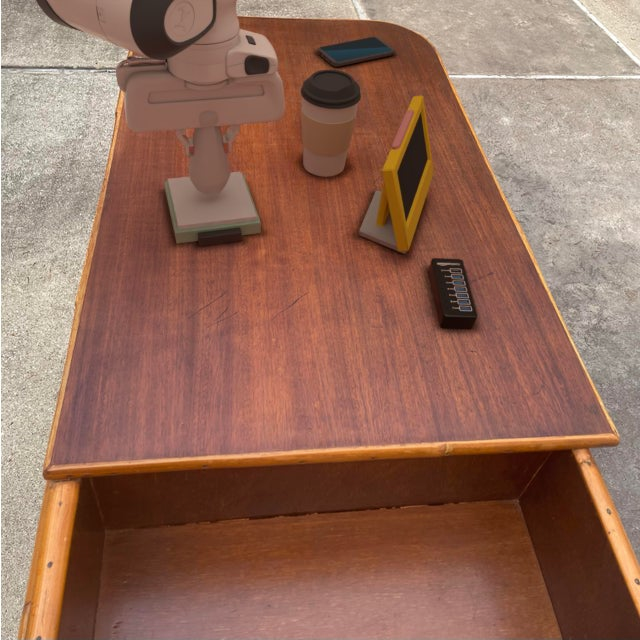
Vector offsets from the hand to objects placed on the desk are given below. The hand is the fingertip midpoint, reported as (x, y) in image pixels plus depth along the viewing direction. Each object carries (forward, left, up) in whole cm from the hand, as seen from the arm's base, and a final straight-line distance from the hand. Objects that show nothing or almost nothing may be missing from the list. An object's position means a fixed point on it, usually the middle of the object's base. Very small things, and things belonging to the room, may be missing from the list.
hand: (208, 152), depth 87 cm
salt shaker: (0, 0, -6) cm, 6 cm away
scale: (0, 0, -10) cm, 10 cm away
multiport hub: (+28, -24, -10) cm, 38 cm away
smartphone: (+38, +46, -10) cm, 61 cm away
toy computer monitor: (+26, -7, -10) cm, 29 cm away
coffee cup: (+20, +9, -10) cm, 24 cm away
